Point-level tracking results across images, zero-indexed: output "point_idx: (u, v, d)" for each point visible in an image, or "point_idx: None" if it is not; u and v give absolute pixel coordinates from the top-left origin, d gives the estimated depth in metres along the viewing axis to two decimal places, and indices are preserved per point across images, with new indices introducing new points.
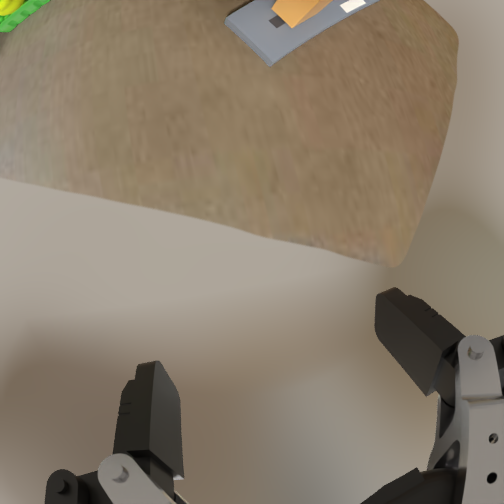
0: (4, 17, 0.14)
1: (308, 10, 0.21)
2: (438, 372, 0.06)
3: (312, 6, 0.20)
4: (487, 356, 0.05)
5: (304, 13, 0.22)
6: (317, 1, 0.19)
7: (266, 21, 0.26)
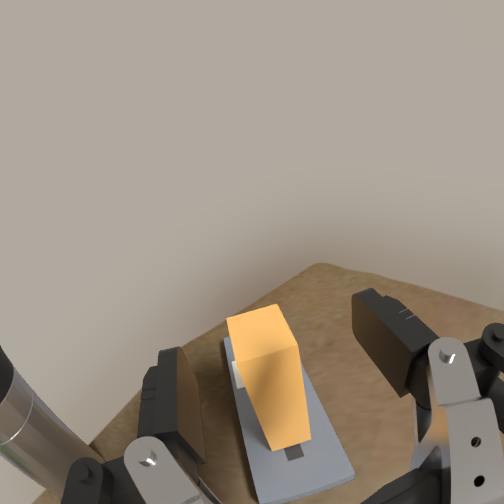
0: None
1: (305, 410, 0.20)
2: (410, 373, 0.07)
3: (304, 402, 0.20)
4: (459, 359, 0.05)
5: (306, 416, 0.20)
6: (303, 393, 0.19)
7: (289, 463, 0.21)
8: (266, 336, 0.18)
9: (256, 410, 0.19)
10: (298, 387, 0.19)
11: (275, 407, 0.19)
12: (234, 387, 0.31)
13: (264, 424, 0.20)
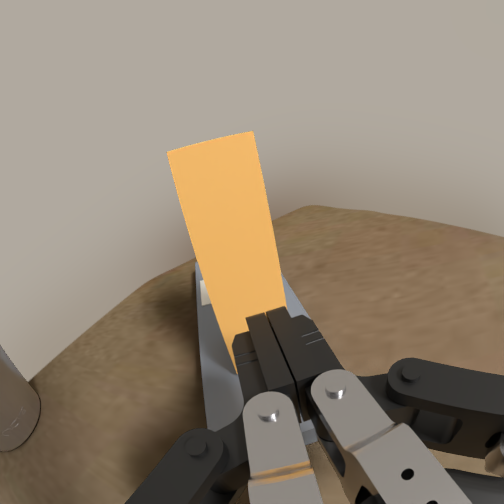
0: None
1: (280, 282, 0.15)
2: (305, 401, 0.07)
3: (276, 262, 0.15)
4: (346, 397, 0.06)
5: (281, 298, 0.16)
6: (271, 237, 0.14)
7: None
8: None
9: (201, 264, 0.14)
10: (263, 222, 0.14)
11: (230, 262, 0.14)
12: (198, 304, 0.27)
13: (216, 303, 0.15)
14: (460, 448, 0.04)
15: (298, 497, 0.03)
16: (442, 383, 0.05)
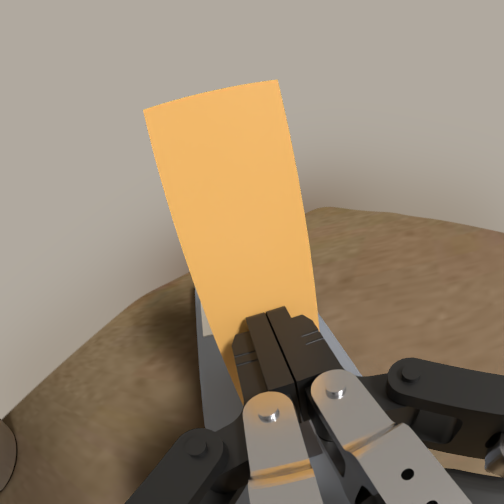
0: None
1: (313, 306, 0.10)
2: (305, 401, 0.07)
3: (310, 279, 0.10)
4: (346, 397, 0.06)
5: None
6: (305, 242, 0.09)
7: None
8: None
9: (198, 284, 0.09)
10: (292, 219, 0.09)
11: (243, 280, 0.09)
12: (199, 335, 0.20)
13: (222, 339, 0.10)
14: (460, 448, 0.04)
15: (298, 497, 0.03)
16: (442, 383, 0.05)
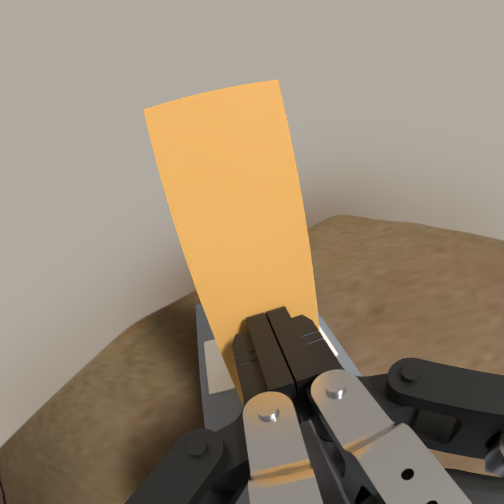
0: None
1: (313, 306, 0.10)
2: (305, 401, 0.07)
3: (310, 279, 0.10)
4: (346, 397, 0.06)
5: None
6: (305, 242, 0.09)
7: None
8: None
9: (198, 284, 0.09)
10: (293, 218, 0.09)
11: (243, 280, 0.09)
12: (204, 391, 0.15)
13: (222, 338, 0.10)
14: (460, 448, 0.04)
15: (298, 497, 0.03)
16: (442, 383, 0.05)
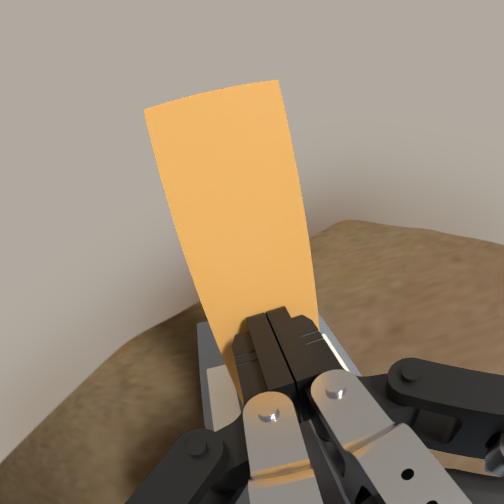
0: None
1: (313, 306, 0.10)
2: (305, 401, 0.07)
3: (310, 279, 0.10)
4: (346, 397, 0.06)
5: None
6: (305, 242, 0.09)
7: None
8: None
9: (198, 284, 0.09)
10: (293, 219, 0.09)
11: (243, 280, 0.09)
12: (208, 428, 0.13)
13: (222, 338, 0.10)
14: (460, 448, 0.04)
15: (298, 497, 0.03)
16: (442, 383, 0.05)
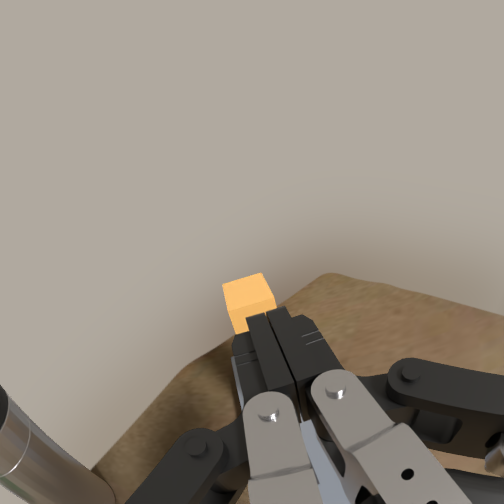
0: None
1: None
2: (305, 401, 0.07)
3: None
4: (346, 397, 0.06)
5: None
6: None
7: None
8: (251, 293, 0.25)
9: None
10: None
11: None
12: None
13: None
14: (460, 448, 0.04)
15: (298, 497, 0.03)
16: (442, 383, 0.05)
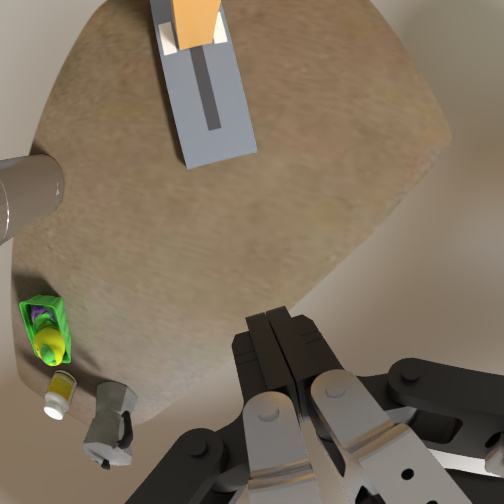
0: None
1: (214, 24, 0.21)
2: (305, 401, 0.07)
3: (215, 20, 0.20)
4: (346, 397, 0.06)
5: (212, 28, 0.22)
6: (216, 15, 0.19)
7: (209, 133, 0.32)
8: None
9: (177, 24, 0.19)
10: (214, 11, 0.18)
11: (192, 22, 0.19)
12: (161, 53, 0.27)
13: (179, 32, 0.21)
14: (460, 448, 0.04)
15: (298, 497, 0.03)
16: (442, 383, 0.05)
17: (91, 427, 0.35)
